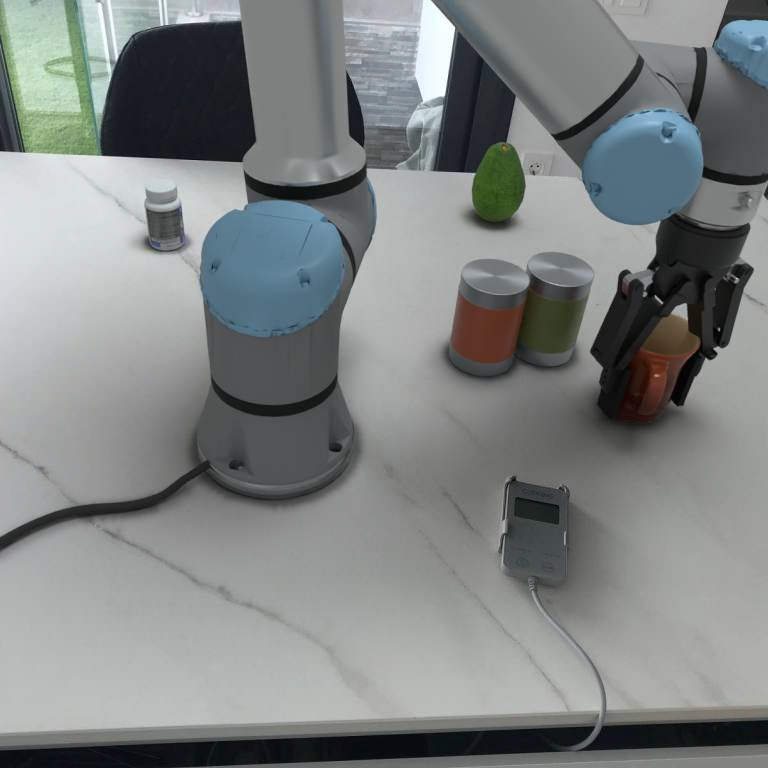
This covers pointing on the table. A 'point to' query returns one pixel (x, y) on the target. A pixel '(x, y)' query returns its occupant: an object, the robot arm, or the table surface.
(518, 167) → the fruit
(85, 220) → the table surface
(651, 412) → the mug
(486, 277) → the tins
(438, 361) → the table surface
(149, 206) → the pill bottle
